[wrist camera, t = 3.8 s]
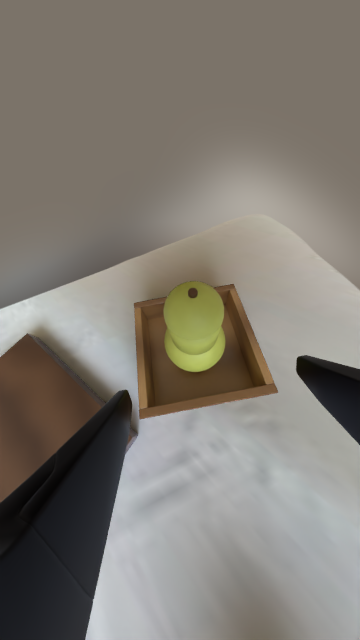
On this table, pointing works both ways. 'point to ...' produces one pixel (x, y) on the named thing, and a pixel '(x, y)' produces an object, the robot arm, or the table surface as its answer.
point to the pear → (194, 326)
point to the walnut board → (38, 409)
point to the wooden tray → (205, 386)
